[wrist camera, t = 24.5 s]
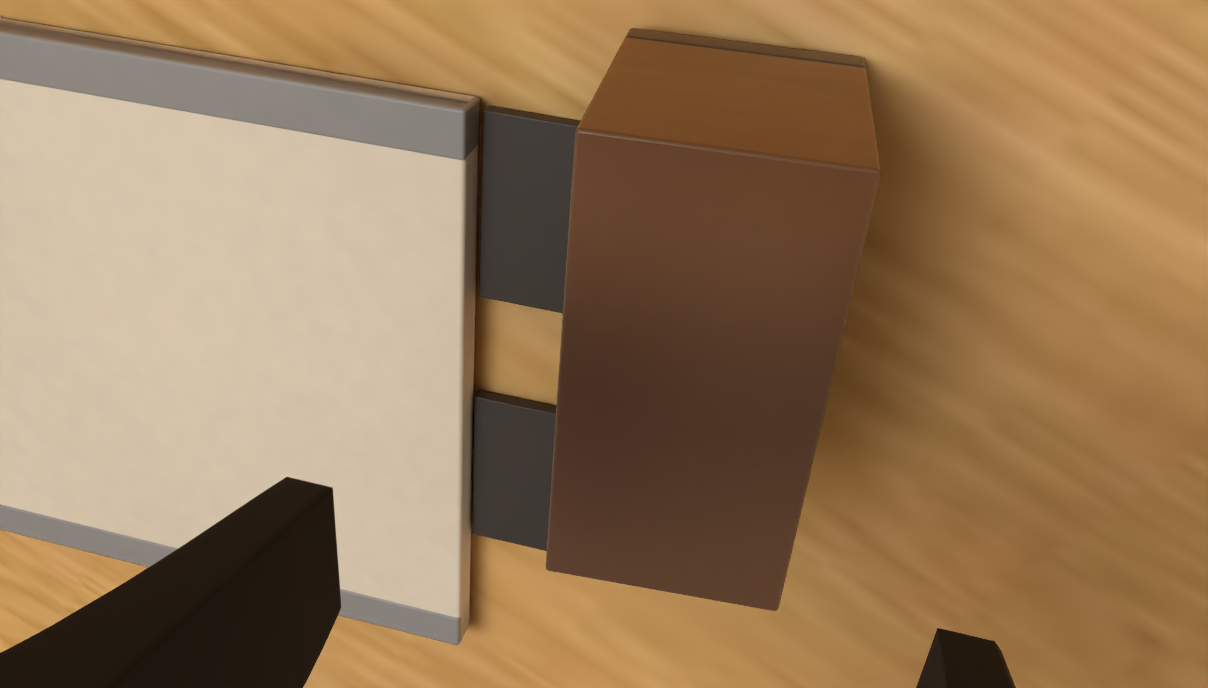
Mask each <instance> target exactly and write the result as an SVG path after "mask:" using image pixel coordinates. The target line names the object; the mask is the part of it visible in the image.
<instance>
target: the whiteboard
mask: <svg viewBox="0 0 1208 688" xmlns="http://www.w3.org/2000/svg"><path fill="white" fill-rule="evenodd" d="M478 145H479V98H478V97H476V96H470V95H464V94H458V93H452V92H446V91H440V90H434V89H428V88H422V87H416V86H410V85H404V84H398V83H392V82H386V81H380V80H374V79H368V78H362V77H356V76H350V75H343V74H337V73H331V72H325V71H319V70H313V69H307V68H301V67H295V66H289V65H283V64H277V63H271V62H265V61H259V60H253V59H247V58H241V57H235V56H229V55H223V54H217V53H211V52H205V51H199V50H193V49H187V48H181V47H175V46H169V45H163V44H156V43H150V42H144V41H138V40H132V39H126V38H120V37H114V36H108V35H102V34H96V33H90V32H84V31H78V30H72V29H66V28H60V27H54V26H48V25H42V24H36V23H30V22H24V21H18V20H12V19H6V18H0V530H3V531H7V532H11V533H15V534H19V535H23V536H27V537H31V538H35V539H39V540H43V541H47V542H51V543H55V544H59V545H63V546H67V547H71V548H75V549H79V550H83V551H86V552H90V553H94V554H98V555H102V556H106V557H110V558H114V559H118V560H122V561H126V562H130V563H134V564H138V565H142V566H146V567H150V566H152V565H153V564H155V563H156V562H158V561H159V560H161V559H163V558H164V557H166V556H167V555H169V554H170V553H172V552H173V551H175V550H177V549H178V548H180V547H181V546H183V545H184V544H186V543H187V542H189V541H190V540H192V539H193V538H195V537H196V536H198V535H199V534H201V533H202V532H204V531H205V530H207V529H208V528H210V527H211V526H213V525H214V524H216V523H217V522H219V521H220V520H222V519H223V518H225V517H226V516H228V515H229V514H231V513H232V512H234V511H235V510H237V509H238V508H240V507H241V506H243V505H244V504H246V503H247V502H249V501H250V500H252V499H253V498H255V497H256V496H258V495H259V494H261V493H262V492H264V491H265V490H267V489H268V488H270V487H272V486H273V485H275V484H276V483H278V482H279V481H281V480H282V479H284V478H286V477H290V478H294V479H299V480H303V481H307V482H312V483H316V484H320V485H325V486H329V487H333V498H334V512H335V526H336V540H337V554H338V568H339V581H340V595H341V610H340V612H339V614H338V615H340V616H343V617H347V618H351V619H355V620H359V621H363V622H367V623H371V624H375V625H379V626H383V627H387V628H391V629H395V630H399V631H403V632H407V633H411V634H415V635H419V636H423V637H426V638H430V639H434V640H438V641H442V642H446V643H450V644H454V645H458V644H459V643H460V642H461V640H462V637H463V635H464V633H465V631H466V629H467V627H468V625H469V612H470V553H471V500H472V447H473V394H474V341H475V288H476V235H477V182H478Z"/></svg>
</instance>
